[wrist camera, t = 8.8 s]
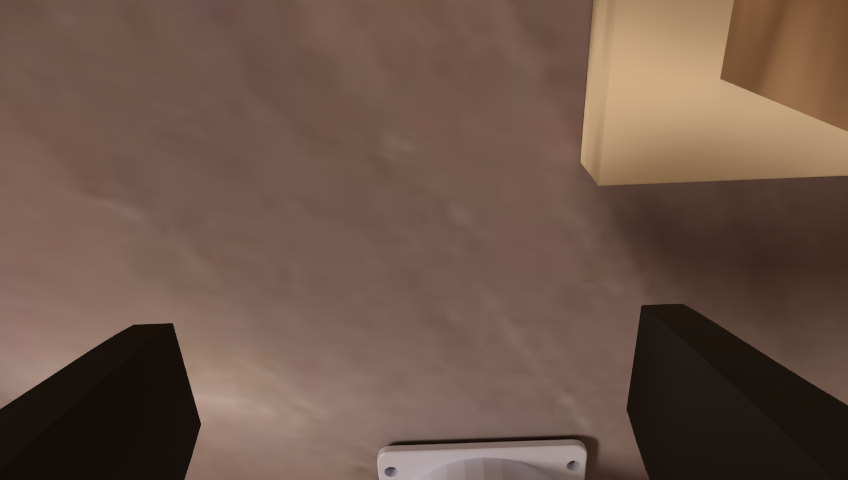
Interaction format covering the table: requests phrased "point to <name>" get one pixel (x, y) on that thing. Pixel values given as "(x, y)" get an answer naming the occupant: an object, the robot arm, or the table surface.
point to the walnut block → (792, 54)
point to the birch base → (687, 104)
